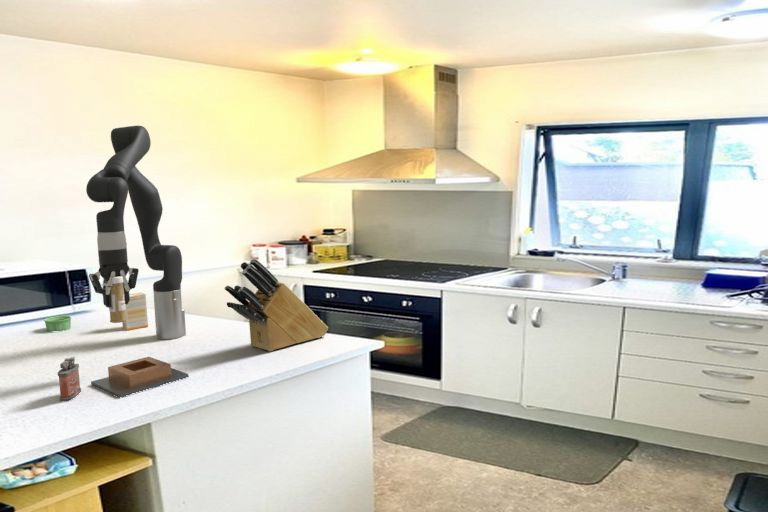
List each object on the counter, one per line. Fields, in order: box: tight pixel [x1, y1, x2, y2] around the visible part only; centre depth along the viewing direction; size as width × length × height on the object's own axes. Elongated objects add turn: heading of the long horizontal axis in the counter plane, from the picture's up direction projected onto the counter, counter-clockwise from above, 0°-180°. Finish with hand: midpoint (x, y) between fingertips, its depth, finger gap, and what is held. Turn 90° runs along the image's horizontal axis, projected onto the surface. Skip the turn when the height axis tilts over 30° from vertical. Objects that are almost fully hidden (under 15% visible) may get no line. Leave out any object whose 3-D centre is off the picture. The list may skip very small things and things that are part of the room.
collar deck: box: [90, 356, 189, 399], centre depth 161 cm, size 20×16×4 cm
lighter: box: [57, 357, 82, 402], centre depth 150 cm, size 8×3×10 cm, turn 5°
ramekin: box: [44, 315, 72, 332], centre depth 221 cm, size 9×9×4 cm
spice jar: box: [107, 276, 127, 324], centre depth 168 cm, size 5×5×13 cm
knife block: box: [224, 258, 329, 352], centre depth 195 cm, size 11×35×31 cm, turn 137°
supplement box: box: [121, 292, 149, 331], centre depth 221 cm, size 8×5×13 cm, turn 132°
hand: (117, 305), depth 168 cm, fingers closed on spice jar, 4 cm apart
